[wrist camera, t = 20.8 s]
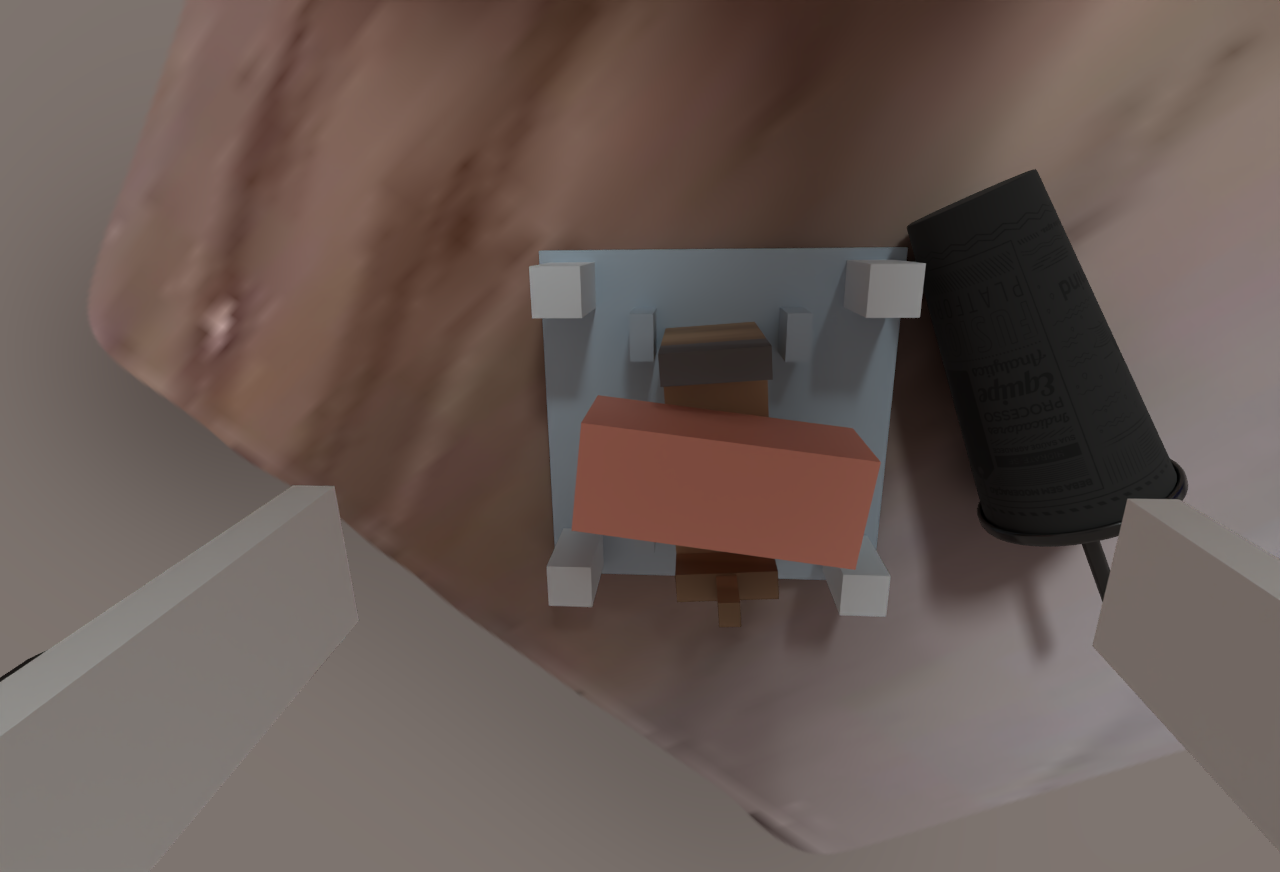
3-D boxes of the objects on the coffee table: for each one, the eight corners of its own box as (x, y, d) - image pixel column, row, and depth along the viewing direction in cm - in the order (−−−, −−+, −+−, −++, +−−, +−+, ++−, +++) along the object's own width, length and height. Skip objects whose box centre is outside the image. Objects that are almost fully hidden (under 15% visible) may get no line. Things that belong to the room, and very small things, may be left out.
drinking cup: (904, 223, 31) (1038, 582, 34) (845, 255, 26) (1010, 678, 29) (1090, 141, 26) (1229, 575, 29) (1064, 160, 21) (1239, 689, 24)
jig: (543, 250, 30) (515, 253, 25) (900, 246, 29) (941, 249, 24) (559, 563, 35) (538, 614, 30) (867, 571, 34) (896, 627, 29)
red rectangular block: (588, 488, 27) (571, 530, 23) (597, 395, 26) (580, 422, 22) (832, 522, 27) (855, 569, 23) (852, 428, 25) (880, 462, 22)
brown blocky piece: (761, 525, 32) (785, 627, 24) (680, 529, 33) (675, 630, 24) (754, 321, 29) (778, 356, 21) (665, 328, 30) (654, 364, 21)
